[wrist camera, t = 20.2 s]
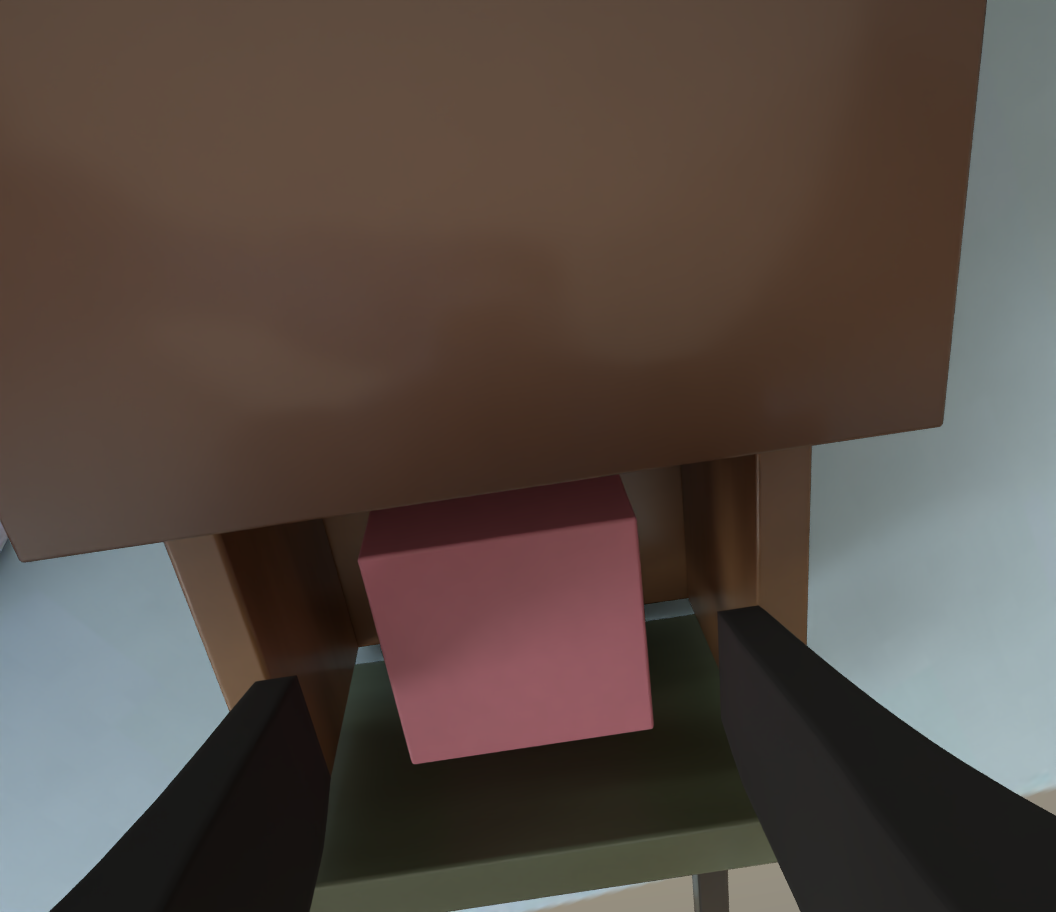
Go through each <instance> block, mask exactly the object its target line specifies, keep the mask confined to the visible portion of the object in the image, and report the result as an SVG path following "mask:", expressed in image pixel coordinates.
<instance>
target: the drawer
mask: <svg viewBox="0 0 1056 912" xmlns="http://www.w3.org/2000/svg"><path fill="white" fill-rule="evenodd" d="M811 456H812V446H807V447H800V448H793V449H787V450H780V451H773V452H766V453H760V454H753V455H746V456H739V457H733V458H726V459H719V460H712V461H706V462H699V463H692V464H685V465H679V466H672V467H665V468H659V469H652V470H645V471H638V472H632V473H625V474H619V475H620V478H621V480H622V483H623V485H624V488H625V491H626V493H627V496H628V498H629V501H630V503H631V506H632V508H633V511H634V513H635V516H636V519H637V527H638V539H639V551H640V563H641V575H642V587H643V599H644V605H645V604H651V603H658V602H665V601H672V600H678V599H685V598H688V599H689V602H690V604H691V606H692V609H693V611H694V613H695V614H692V615H685V616H678V617H672V618H665V619H658V620H652V621H645V623H646V635H647V647H648V659H649V671H650V683H651V695H652V707H653V719H654V726H653V728H652V729H648V730H641V731H634V732H628V733H621V734H614V735H608V736H601V737H594V738H588V739H581V740H574V741H567V742H561V743H554V744H547V745H541V746H534V747H527V748H521V749H514V750H507V751H500V752H494V753H487V754H480V755H474V756H467V757H460V758H453V759H447V760H440V761H433V762H427V763H420V764H413V763H412V761H411V758H410V754H409V751H408V747H407V743H406V739H405V736H404V732H403V728H402V724H401V721H400V717H399V713H398V709H397V706H396V702H395V698H394V694H393V691H392V687H391V683H390V680H389V676H388V672H387V668H386V665H385V661H384V660H383V661H376V662H369V663H363V664H356V665H355V662H356V657H357V652H358V647H362V646H369V645H376V644H380V642H379V638H378V635H377V631H376V627H375V623H374V620H373V616H372V612H371V608H370V605H369V601H368V597H367V594H366V590H365V586H364V582H363V579H362V575H361V571H360V567H359V564H358V557H359V553H360V549H361V545H362V541H363V538H364V534H365V530H366V526H367V522H368V518H369V514H370V511H369V512H362V513H355V514H348V515H342V516H335V517H328V518H321V519H315V520H308V521H301V522H294V523H288V524H281V525H274V526H267V527H261V528H254V529H247V530H240V531H234V532H227V533H220V534H213V535H207V536H200V537H193V538H186V539H180V540H173V541H166V542H164V544H165V547H166V549H167V552H168V555H169V557H170V560H171V562H172V565H173V567H174V570H175V573H176V575H177V578H178V580H179V583H180V585H181V588H182V591H183V593H184V596H185V598H186V601H187V603H188V606H189V609H190V611H191V614H192V616H193V619H194V621H195V624H196V627H197V629H198V632H199V634H200V637H201V639H202V642H203V645H204V647H205V650H206V652H207V655H208V657H209V660H210V662H211V665H212V668H213V670H214V673H215V675H216V678H217V680H218V683H219V686H220V688H221V691H222V693H223V696H224V698H225V701H226V704H227V706H228V709H229V711H231V710H232V708H233V707H234V706H235V705H236V704H237V702H238V701H239V700H240V699H241V698H242V696H243V695H244V694H245V693H246V692H247V690H248V689H249V688H250V687H251V686H252V685H253V684H254V682H255V681H261V680H268V679H275V678H281V677H288V676H294V675H297V677H298V680H299V683H300V686H301V689H302V692H303V695H304V698H305V701H306V704H307V707H308V710H309V713H310V716H311V719H312V722H313V725H314V728H315V731H316V735H317V738H318V741H319V744H320V747H321V750H322V753H323V756H324V759H325V762H326V765H327V768H328V771H329V774H330V777H331V781H330V792H329V803H328V814H327V823H326V832H325V841H324V849H323V854H322V858H321V863H320V868H319V872H318V877H317V881H316V886H315V890H314V895H313V899H312V904H311V908H310V912H449V911H456V910H462V909H469V908H476V907H482V906H489V905H496V904H502V903H509V902H516V901H522V900H529V899H536V898H542V897H549V896H556V895H563V894H569V893H576V892H583V891H589V890H596V889H603V888H609V887H616V886H623V885H629V884H636V883H643V882H649V881H656V880H663V879H669V878H676V877H683V876H689V875H692V879H693V894H694V911H695V912H729V896H728V895H729V894H728V869H735V868H743V867H749V866H755V865H762V864H769V863H776V862H778V861H777V859H776V857H775V855H774V852H773V850H772V848H771V846H770V844H769V842H768V839H767V837H766V835H765V833H764V831H763V829H762V826H761V824H760V822H759V820H758V817H757V815H756V813H755V811H754V809H753V806H752V804H751V802H750V800H749V798H748V795H747V793H746V791H745V789H744V786H743V784H742V781H741V778H740V775H739V772H738V769H737V766H736V763H735V760H734V757H733V754H732V751H731V748H730V745H729V742H728V739H727V736H726V732H725V729H724V726H723V723H722V720H721V706H720V677H719V648H718V619H717V611H724V610H730V609H737V608H744V607H750V606H757V605H759V606H760V607H762V608H763V609H764V610H766V611H767V612H768V613H769V614H770V615H772V616H773V617H774V618H775V619H776V620H777V621H779V622H780V623H781V624H782V625H783V626H784V627H786V628H787V629H788V630H789V631H790V632H791V633H792V634H794V635H795V636H796V637H797V638H798V639H800V640H801V641H802V642H803V643H804V644H805V645H807V610H808V571H809V533H810V494H811Z"/></svg>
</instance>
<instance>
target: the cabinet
mask: <svg viewBox="0 0 1056 912" xmlns="http://www.w3.org/2000/svg"><path fill="white" fill-rule="evenodd" d="M986 5H987V0H0V522H1V524H2V526H3V528H4V530H5V532H6V534H7V536H8V538H9V540H10V542H11V544H12V546H13V548H14V550H15V552H16V554H17V556H18V558H19V560H20V561H21V562H24V563H25V562H31V561H38V560H45V559H52V558H58V557H65V556H72V555H79V554H85V553H92V552H99V551H106V550H112V549H119V548H126V547H133V546H139V545H146V544H153V543H159V542H166V541H173V540H180V539H186V538H193V537H200V536H207V535H213V534H220V533H227V532H234V531H240V530H247V529H254V528H261V527H267V526H274V525H281V524H288V523H294V522H301V521H308V520H315V519H321V518H328V517H335V516H342V515H348V514H355V513H362V512H369V511H375V510H382V509H389V508H396V507H402V506H409V505H416V504H422V503H429V502H436V501H443V500H449V499H456V498H463V497H470V496H476V495H483V494H490V493H497V492H503V491H510V490H517V489H524V488H530V487H537V486H544V485H551V484H557V483H564V482H571V481H578V480H584V479H591V478H598V477H605V476H611V475H618V474H625V473H632V472H638V471H645V470H652V469H659V468H665V467H672V466H679V465H685V464H692V463H699V462H706V461H712V460H719V459H726V458H733V457H739V456H746V455H753V454H760V453H766V452H773V451H780V450H787V449H793V448H800V447H807V446H814V445H820V444H827V443H834V442H841V441H847V440H854V439H861V438H868V437H874V436H881V435H888V434H895V433H901V432H908V431H915V430H922V429H928V428H935V427H940V426H942V424H943V418H944V409H945V399H946V389H947V380H948V370H949V361H950V351H951V341H952V332H953V322H954V313H955V303H956V293H957V284H958V274H959V265H960V255H961V245H962V236H963V226H964V216H965V207H966V197H967V188H968V178H969V168H970V159H971V149H972V140H973V130H974V120H975V111H976V101H977V92H978V82H979V72H980V63H981V53H982V43H983V34H984V24H985V15H986Z"/></svg>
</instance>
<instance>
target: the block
mask: <svg viewBox="0 0 1056 912" xmlns="http://www.w3.org/2000/svg"><path fill="white" fill-rule="evenodd" d="M358 564H359V567H360V571H361V575H362V579H363V582H364V586H365V590H366V594H367V597H368V601H369V605H370V608H371V612H372V616H373V620H374V623H375V627H376V631H377V635H378V638H379V642H380V646H381V650H382V653H383V657H384V661H385V665H386V668H387V672H388V676H389V680H390V683H391V687H392V691H393V694H394V698H395V702H396V706H397V709H398V713H399V717H400V721H401V724H402V728H403V732H404V736H405V739H406V743H407V747H408V751H409V754H410V758H411V761H412V763H413V764H420V763H427V762H433V761H440V760H447V759H453V758H460V757H467V756H474V755H480V754H487V753H494V752H500V751H507V750H514V749H521V748H527V747H534V746H541V745H547V744H554V743H561V742H567V741H574V740H581V739H588V738H594V737H601V736H608V735H614V734H621V733H628V732H634V731H641V730H648V729H652V728H653V726H654V719H653V707H652V695H651V683H650V671H649V659H648V647H647V635H646V623H645V611H644V599H643V587H642V575H641V563H640V551H639V539H638V527H637V519H636V516H635V513H634V511H633V508H632V506H631V503H630V501H629V498H628V496H627V493H626V491H625V488H624V485H623V483H622V480H621V478H620V475H619V474H618V475H611V476H605V477H598V478H591V479H584V480H578V481H571V482H564V483H557V484H551V485H544V486H537V487H530V488H524V489H517V490H510V491H503V492H497V493H490V494H483V495H476V496H470V497H463V498H456V499H449V500H443V501H436V502H429V503H422V504H416V505H409V506H402V507H396V508H389V509H382V510H375V511H370V514H369V518H368V522H367V526H366V530H365V534H364V538H363V541H362V545H361V549H360V553H359V557H358Z"/></svg>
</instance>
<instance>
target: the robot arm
mask: <svg viewBox="0 0 1056 912" xmlns="http://www.w3.org/2000/svg"><path fill="white" fill-rule="evenodd" d="M7 540H8V536H7V534H6V532H5V530H4V528H3V526H2V524H1V522H0V552H1V550H2V548H3V547H4V545H5V543H6V541H7ZM717 619H718V648H719V677H720V706H721V720H722V723H723V726H724V729H725V732H726V736H727V739H728V742H729V745H730V748H731V751H732V754H733V757H734V760H735V763H736V766H737V769H738V772H739V775H740V778H741V781H742V784H743V786H744V789H745V791H746V793H747V795H748V798H749V800H750V802H751V804H752V806H753V809H754V811H755V813H756V815H757V817H758V820H759V822H760V824H761V826H762V829H763V831H764V833H765V835H766V837H767V839H768V842H769V844H770V846H771V848H772V850H773V852H774V855H775V857H776V859H777V861H778V863H779V865H780V868H781V870H782V872H783V874H784V876H785V879H786V881H787V883H788V885H789V887H790V889H791V891H792V893H793V896H794V898H795V900H796V902H797V905H798V907H799V909H800V911H801V912H1056V816H1055V815H1054V814H1052V813H1050V812H1048V811H1046V810H1044V809H1043V808H1041V807H1039V806H1037V805H1035V804H1034V803H1032V802H1030V801H1028V800H1026V799H1025V798H1023V797H1021V796H1019V795H1018V794H1016V793H1014V792H1012V791H1011V790H1009V789H1007V788H1006V787H1004V786H1003V785H1001V784H999V783H998V782H996V781H994V780H993V779H991V778H989V777H988V776H986V775H984V774H983V773H981V772H979V771H978V770H976V769H974V768H973V767H971V766H969V765H968V764H966V763H964V762H963V761H961V760H960V759H958V758H957V757H955V756H953V755H952V754H950V753H949V752H947V751H946V750H944V749H943V748H941V747H940V746H938V745H937V744H935V743H934V742H932V741H931V740H929V739H928V738H926V737H925V736H924V735H922V734H921V733H919V732H918V731H916V730H915V729H914V728H912V727H911V726H909V725H908V724H906V723H905V722H904V721H902V720H901V719H899V718H898V717H897V716H895V715H894V714H893V713H891V712H890V711H888V710H887V709H886V708H884V707H883V706H882V705H880V704H879V703H878V702H876V701H875V700H874V699H873V698H871V697H870V696H869V695H867V694H866V693H865V692H864V691H862V690H861V689H860V688H858V687H857V686H856V685H855V684H853V683H852V682H851V681H849V680H848V679H847V678H846V677H844V676H843V675H842V674H840V673H839V672H838V671H837V670H836V669H834V668H833V667H832V666H831V665H829V664H828V663H827V662H826V661H825V660H823V659H822V658H821V657H820V656H819V655H817V654H816V653H815V652H814V651H813V650H811V649H810V648H809V647H808V646H807V645H805V644H804V643H803V642H802V641H801V640H800V639H798V638H797V637H796V636H795V635H794V634H792V633H791V632H790V631H789V630H788V629H787V628H786V627H784V626H783V625H782V624H781V623H780V622H779V621H777V620H776V619H775V618H774V617H773V616H772V615H770V614H769V613H768V612H767V611H766V610H764V609H763V608H762V607H760V606H759V605H757V606H750V607H744V608H737V609H730V610H724V611H717ZM330 781H331V777H330V774H329V771H328V768H327V765H326V762H325V759H324V756H323V753H322V750H321V747H320V744H319V741H318V738H317V735H316V731H315V728H314V725H313V722H312V719H311V716H310V713H309V710H308V707H307V704H306V701H305V698H304V695H303V692H302V689H301V686H300V683H299V680H298V677H297V675H294V676H288V677H281V678H275V679H268V680H261V681H255V682H254V684H253V685H252V686H251V687H250V688H249V689H248V690H247V692H246V693H245V694H244V695H243V696H242V698H241V699H240V700H239V701H238V702H237V704H236V705H235V706H234V707H233V708H232V710H231V711H230V712H229V713H228V715H227V716H226V717H225V718H224V719H223V721H222V722H221V723H220V724H219V726H218V727H217V728H216V729H215V731H214V732H213V733H212V734H211V735H210V737H209V738H208V739H207V740H206V741H205V743H204V744H203V745H202V746H201V748H200V749H199V750H198V751H197V752H196V754H195V755H194V756H193V757H192V758H191V759H190V761H189V762H188V763H187V764H186V765H185V767H184V768H183V769H182V770H181V771H180V772H179V774H178V775H177V776H176V777H175V778H174V780H173V781H172V782H171V783H170V784H169V785H168V787H167V788H166V789H165V790H164V791H163V793H162V794H161V795H160V796H159V797H158V798H157V799H156V801H155V802H154V803H153V804H152V805H151V806H150V807H149V808H148V809H147V810H146V811H145V813H144V814H143V815H142V816H141V817H140V818H139V819H138V820H137V821H136V822H135V823H134V825H133V826H132V827H131V828H130V829H129V830H128V831H127V832H126V833H125V834H124V835H123V837H122V838H121V839H120V840H119V841H118V842H117V843H116V844H115V845H114V846H113V847H112V849H111V850H110V851H109V852H108V853H107V854H106V855H105V856H104V857H103V858H102V859H101V861H100V862H99V863H98V864H97V865H96V866H95V867H94V868H93V869H92V870H91V871H90V872H89V873H88V874H87V875H86V876H85V877H84V878H83V879H82V880H81V881H80V882H79V883H78V884H77V885H76V886H75V887H74V888H73V889H72V890H71V891H70V892H69V893H68V894H67V895H66V896H65V897H64V898H63V899H62V900H61V901H60V902H59V903H58V904H57V905H56V906H54V907H53V908H52V909H51V910H50V911H49V912H310V908H311V904H312V899H313V895H314V890H315V886H316V881H317V877H318V872H319V868H320V863H321V858H322V854H323V849H324V841H325V832H326V823H327V814H328V803H329V792H330Z"/></svg>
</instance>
